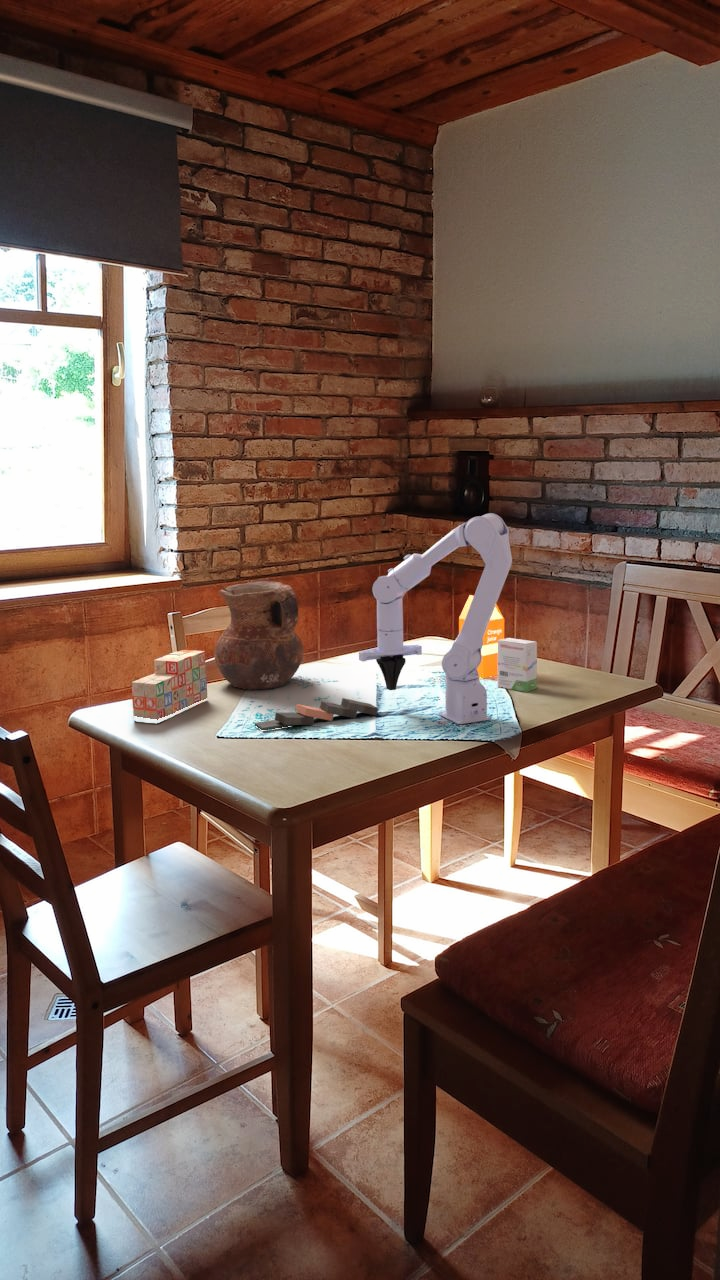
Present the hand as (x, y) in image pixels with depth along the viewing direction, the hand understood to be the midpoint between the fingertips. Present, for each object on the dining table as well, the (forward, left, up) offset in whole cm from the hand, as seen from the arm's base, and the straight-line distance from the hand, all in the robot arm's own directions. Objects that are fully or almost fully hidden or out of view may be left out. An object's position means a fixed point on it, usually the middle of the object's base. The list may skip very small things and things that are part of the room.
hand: (391, 689), depth 218 cm
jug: (+38, +19, -5) cm, 43 cm away
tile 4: (0, +24, -5) cm, 25 cm away
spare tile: (0, +15, -4) cm, 16 cm away
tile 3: (-1, +20, -4) cm, 21 cm away
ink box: (+4, -35, -5) cm, 36 cm away
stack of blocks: (+23, +45, -5) cm, 50 cm away
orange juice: (+21, -35, -5) cm, 42 cm away
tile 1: (0, +5, -4) cm, 6 cm away
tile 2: (0, +10, -4) cm, 10 cm away
